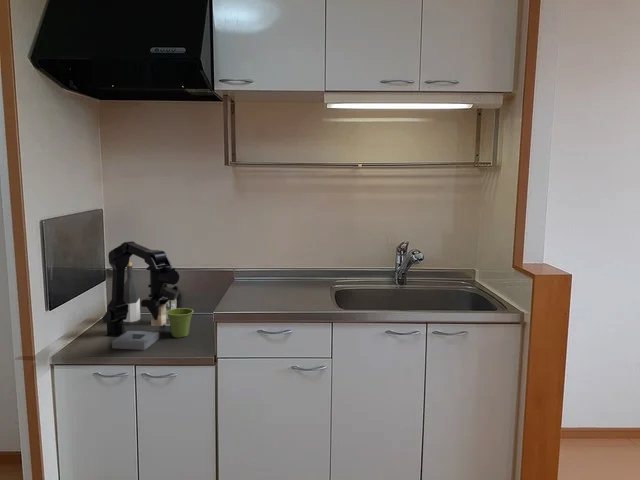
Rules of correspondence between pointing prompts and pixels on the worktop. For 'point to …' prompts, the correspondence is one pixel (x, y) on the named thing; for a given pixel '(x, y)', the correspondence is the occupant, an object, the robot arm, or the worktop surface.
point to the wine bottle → (131, 298)
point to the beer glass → (170, 305)
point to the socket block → (135, 340)
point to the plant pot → (180, 321)
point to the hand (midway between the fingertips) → (158, 318)
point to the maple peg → (160, 316)
